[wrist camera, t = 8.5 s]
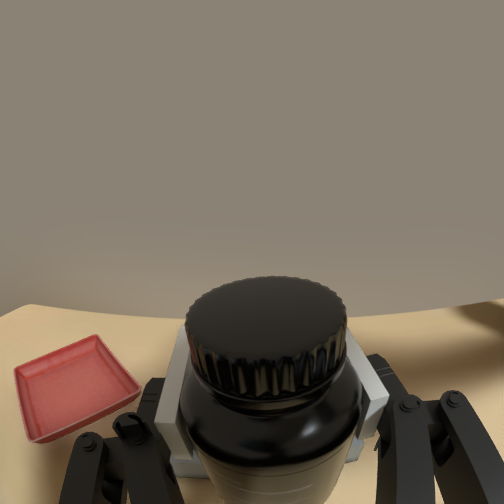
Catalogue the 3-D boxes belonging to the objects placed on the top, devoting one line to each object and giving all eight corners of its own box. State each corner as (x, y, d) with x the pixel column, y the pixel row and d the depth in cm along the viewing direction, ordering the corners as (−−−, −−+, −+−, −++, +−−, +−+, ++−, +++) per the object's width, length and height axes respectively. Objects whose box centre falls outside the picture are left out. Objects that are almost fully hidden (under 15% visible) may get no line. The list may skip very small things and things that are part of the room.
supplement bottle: (232, 431, 16) (201, 263, 12) (335, 437, 14) (364, 262, 11) (201, 515, 9) (103, 361, 6) (331, 529, 8) (414, 386, 4)
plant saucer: (150, 404, 31) (143, 387, 30) (42, 458, 18) (27, 442, 17) (102, 347, 42) (96, 332, 41) (21, 383, 30) (12, 368, 29)
